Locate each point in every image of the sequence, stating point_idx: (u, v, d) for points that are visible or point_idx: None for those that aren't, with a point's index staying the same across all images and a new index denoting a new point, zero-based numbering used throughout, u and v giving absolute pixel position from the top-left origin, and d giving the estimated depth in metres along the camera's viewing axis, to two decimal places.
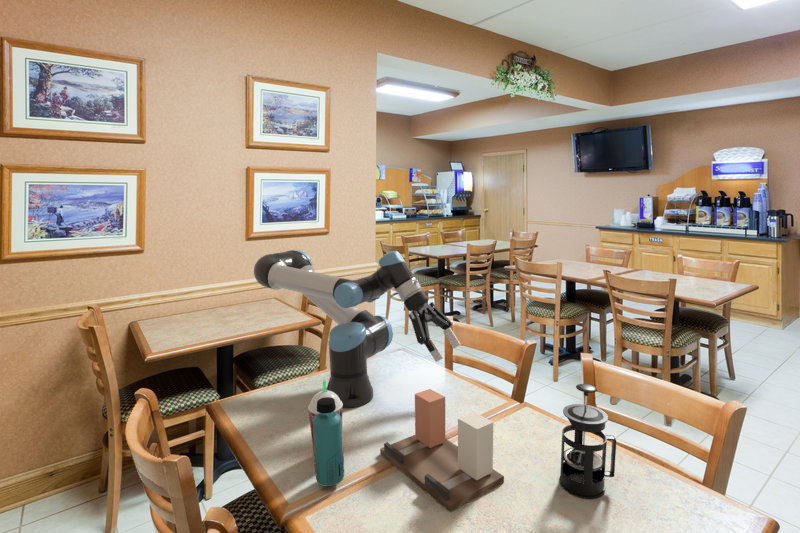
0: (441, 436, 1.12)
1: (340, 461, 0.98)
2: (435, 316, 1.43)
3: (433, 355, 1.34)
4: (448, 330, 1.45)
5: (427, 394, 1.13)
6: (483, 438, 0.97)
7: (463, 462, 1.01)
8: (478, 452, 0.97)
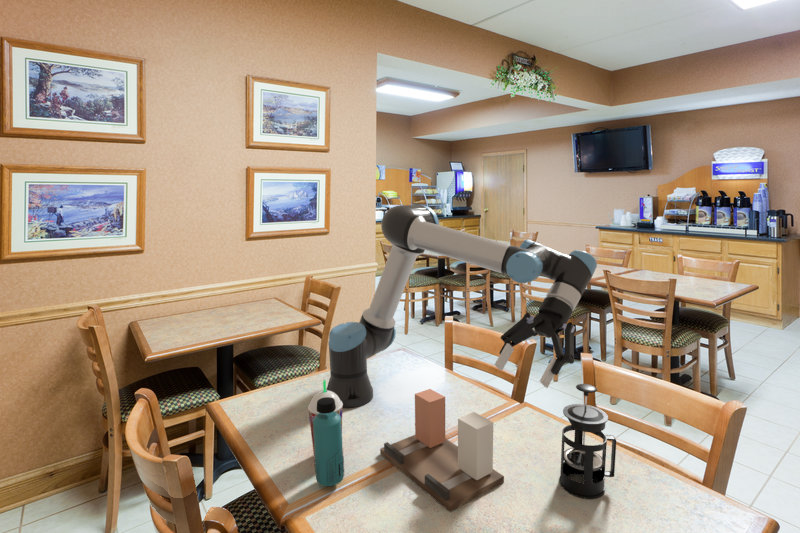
0: (441, 436, 1.12)
1: (340, 461, 0.98)
2: (534, 335, 1.14)
3: (547, 375, 1.01)
4: (511, 350, 1.14)
5: (427, 394, 1.13)
6: (483, 438, 0.97)
7: (463, 462, 1.01)
8: (478, 452, 0.97)
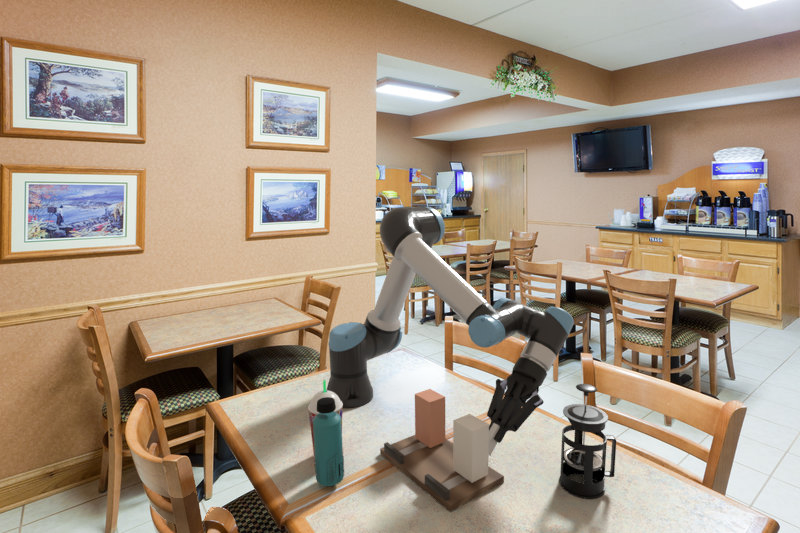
0: (441, 436, 1.12)
1: (340, 461, 0.98)
2: None
3: (490, 443, 1.01)
4: None
5: (427, 394, 1.13)
6: (478, 440, 0.96)
7: (458, 465, 1.00)
8: (473, 454, 0.96)
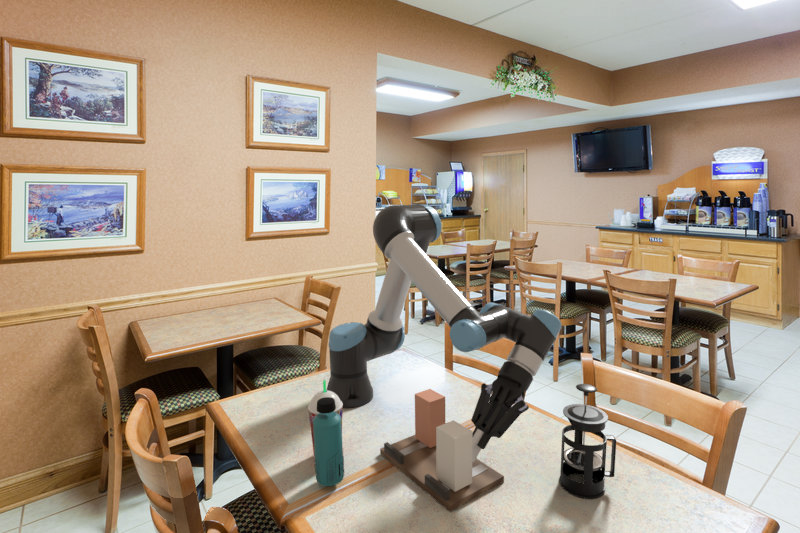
0: None
1: (340, 461, 0.98)
2: None
3: (473, 450, 0.98)
4: None
5: (427, 394, 1.13)
6: (461, 447, 0.94)
7: (441, 473, 0.97)
8: (456, 462, 0.93)
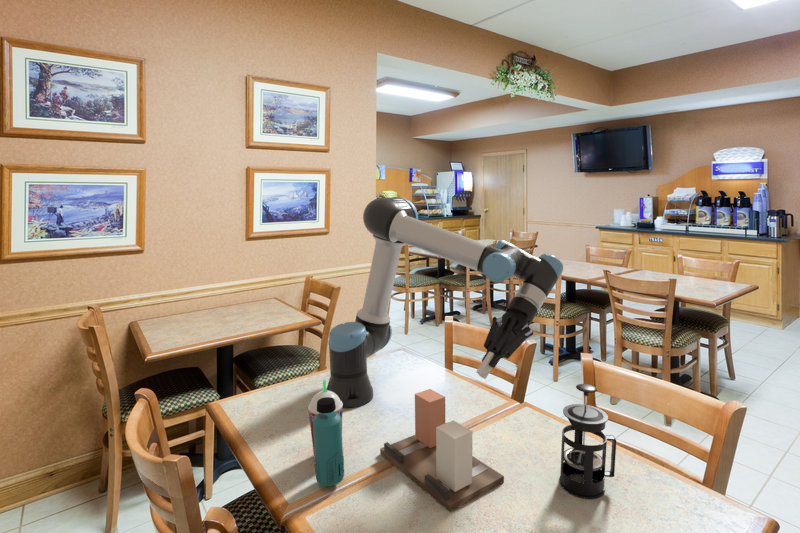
0: None
1: (340, 461, 0.98)
2: None
3: (485, 368, 1.15)
4: None
5: (427, 394, 1.13)
6: (461, 448, 0.94)
7: (441, 473, 0.97)
8: (456, 462, 0.93)
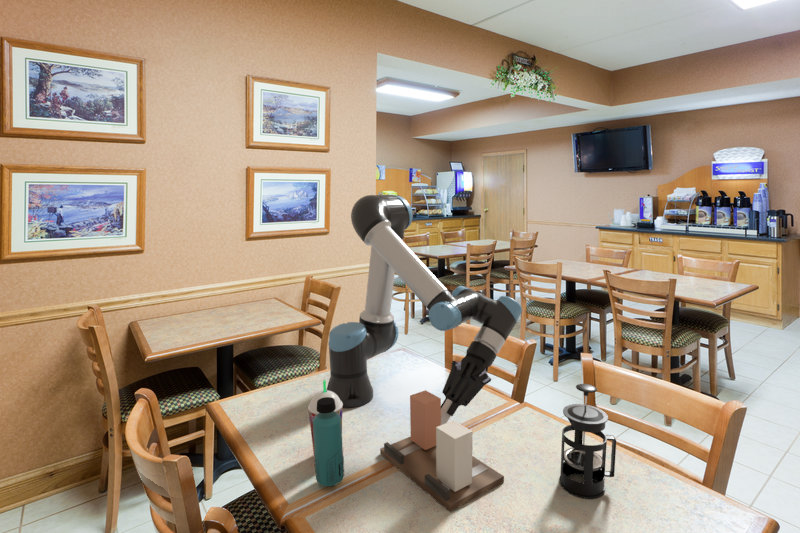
0: None
1: (340, 461, 0.98)
2: None
3: (443, 416, 1.14)
4: None
5: (423, 396, 1.12)
6: (461, 448, 0.94)
7: (441, 473, 0.97)
8: (456, 462, 0.93)
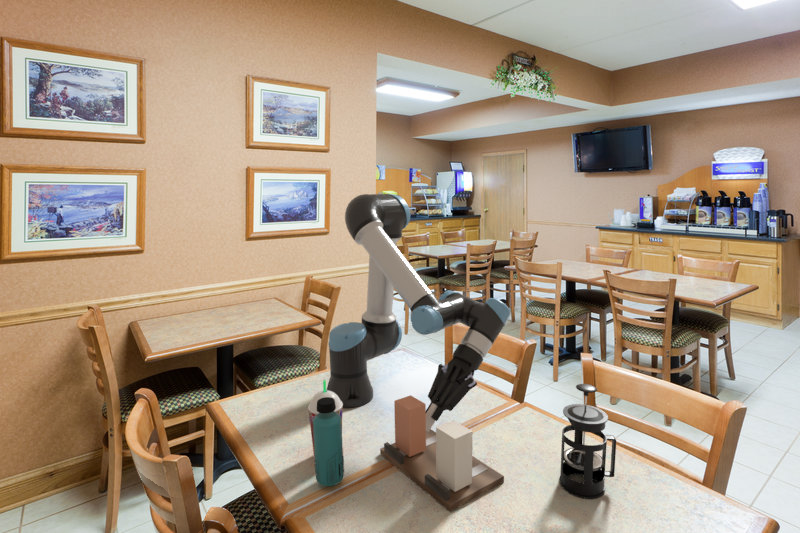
0: (421, 444, 1.09)
1: (340, 461, 0.98)
2: None
3: (427, 421, 1.11)
4: None
5: (407, 401, 1.09)
6: (461, 448, 0.94)
7: (441, 473, 0.97)
8: (456, 462, 0.93)
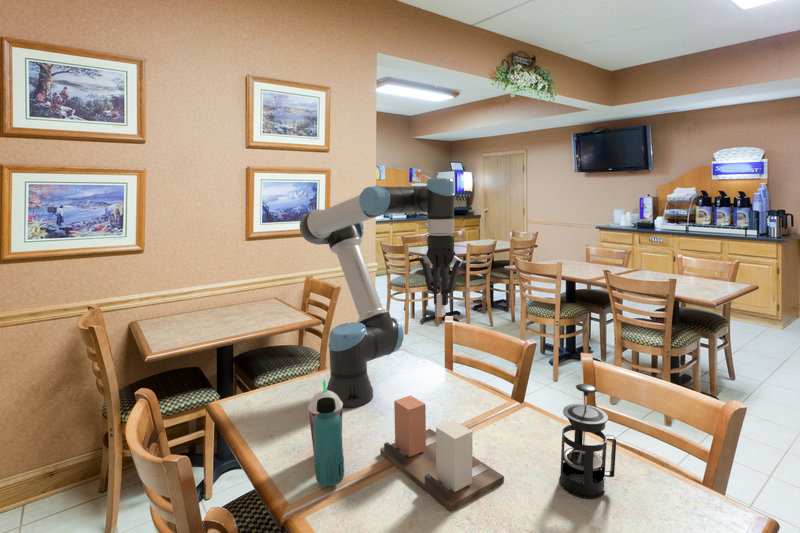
0: (421, 444, 1.09)
1: (340, 461, 0.98)
2: (440, 268, 1.28)
3: (442, 309, 1.28)
4: None
5: (407, 401, 1.09)
6: (461, 448, 0.94)
7: (441, 473, 0.97)
8: (456, 462, 0.93)
